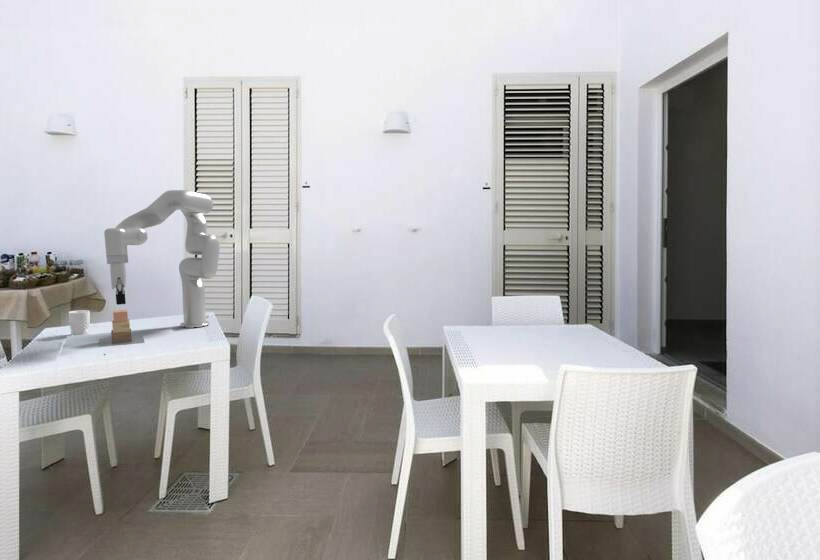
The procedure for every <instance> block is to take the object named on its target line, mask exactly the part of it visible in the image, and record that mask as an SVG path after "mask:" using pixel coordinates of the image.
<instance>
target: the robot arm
mask: <svg viewBox="0 0 820 560" xmlns="http://www.w3.org/2000/svg"><path fill="white" fill-rule="evenodd" d="M213 208H214V202H213V199H212V198H211V197H210V195H207V194H205V193H201V192H196V191H191V190H187V189H186V190H185V189H169V190H166V191H164V192H163V193H162V194H160V196H158V197H156V199H155V200H154V201H153V202H152V203H150V204H149V205H148V206H147V207H145V208H142V210H139V211H137V212H135V213H133V214H132V215H130V216H128V217H126V218H125V219H123V220H122V221H121V222H119V223H118V224H117V225H116V226H115V227H111V228H110V227H109V228H106V229H105V230H104V231H103V233H104V243H105V244H104V246H105V258H106V264H107V265H109V268H110V269H109V271H110V272H109V273H110V281H111V282H110V284H111V289H112V290H114V289H115V301H116V305H117V306H118V305H119V306H120V305H126V303H127V302H126V291H125V289H126V285H127V282H126V281H127V273H126V272H127V270H126V264H128V263H129V254H128V246H140V245H143V244H144V243H146V241H147V240H148V232H147V231H146V230H145V229H147V228H153V227H156V226H158V225H161V224H163V222H165V221H166V220H167V219H168V218H169V217H170V216H171V215H173V214H174V213H175V212H176V211H178V210H179V211H181V213H182V215H183V216H184V217H185V219H186V223H187V224H186V236H185V242H184V245H185V247H184V249H185V251H186V252H187V253H188V254H190V255H195V256H201V257H186V258H184V259H182V260H181V261H180V263H179V265H178V271H179V275H180V280H181V290H182V309H183V322H181V323H180V324H179V326H180V327H181V328H184V327H185V328H186V329H192V328H193V329H195V328H194V327H197V328H203V327H202V326H204V327H207V325H208V326H209V325H210V321H208V320H207V319H209V318H210V314H209V313H206V298H205V295H206V294H205V285H204V282H203V280H210V279H213V278H215V276H216V274H217V272H218V265H219V257H220V249H221V246H220V241H219V239H218V238H217V236H215V235H213V234H208V233H207V230H208V223H207V220H206V217H205V215H204V214H208V213H211V211H212V210H213ZM185 328H184V329H185Z"/></svg>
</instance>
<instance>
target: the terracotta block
mask: <svg viewBox="0 0 820 560" xmlns="http://www.w3.org/2000/svg"><path fill="white" fill-rule="evenodd" d="M112 314H113V316H112V317H113V319H112V320H114V323H116V322H128V319H129V317H128V316H129V315H128V309H120V310H119V309H118V310H112Z"/></svg>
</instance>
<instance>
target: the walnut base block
mask: <svg viewBox="0 0 820 560" xmlns="http://www.w3.org/2000/svg"><path fill="white" fill-rule="evenodd" d="M110 334H111V335H110V336H111V337H110V338H112V343H121V342H132V338H131V336H132V329H131V328H130V332H119V333H113V329H111V333H110Z"/></svg>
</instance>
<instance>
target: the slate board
mask: <svg viewBox="0 0 820 560" xmlns="http://www.w3.org/2000/svg"><path fill="white" fill-rule="evenodd" d="M131 338H132V342H121V343H112V338H111V337H105V338H99V341H98V348H102V347H103V348H105V347H111V346H112V347H114V346H116V347H117V346H127V345H134V344H136V345H137V344H145V338H144V335H143V334H141V335H140V334H139V335H138V334H137V335H131Z"/></svg>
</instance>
